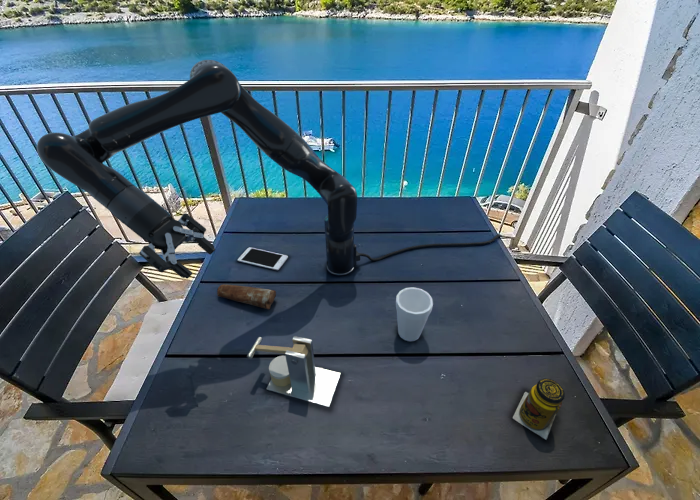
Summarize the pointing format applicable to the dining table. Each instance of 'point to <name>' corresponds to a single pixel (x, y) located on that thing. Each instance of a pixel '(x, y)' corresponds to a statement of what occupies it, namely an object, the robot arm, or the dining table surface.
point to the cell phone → (263, 258)
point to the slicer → (307, 377)
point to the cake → (279, 371)
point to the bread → (248, 295)
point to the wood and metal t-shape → (276, 348)
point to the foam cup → (412, 312)
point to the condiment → (540, 406)
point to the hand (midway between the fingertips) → (202, 263)
